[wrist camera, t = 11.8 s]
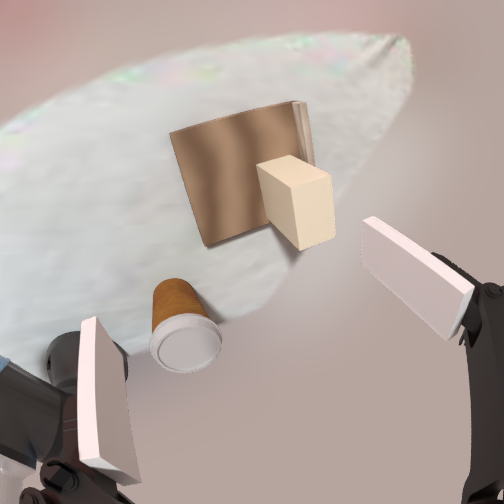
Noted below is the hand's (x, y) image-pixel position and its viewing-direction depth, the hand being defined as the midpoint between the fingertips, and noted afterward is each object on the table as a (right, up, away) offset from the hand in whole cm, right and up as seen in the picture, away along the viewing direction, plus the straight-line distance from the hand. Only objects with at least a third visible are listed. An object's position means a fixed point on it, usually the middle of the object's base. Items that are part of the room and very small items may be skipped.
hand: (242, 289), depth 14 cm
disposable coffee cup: (-12, -5, +33) cm, 35 cm away
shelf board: (0, +13, +27) cm, 30 cm away
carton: (+4, +11, +28) cm, 31 cm away
